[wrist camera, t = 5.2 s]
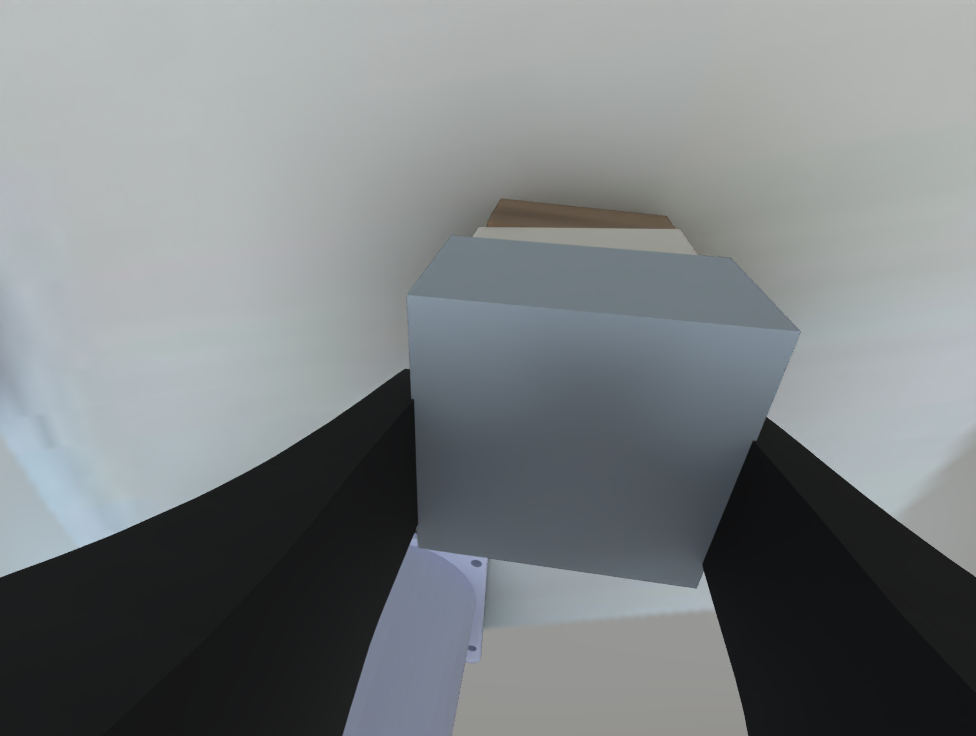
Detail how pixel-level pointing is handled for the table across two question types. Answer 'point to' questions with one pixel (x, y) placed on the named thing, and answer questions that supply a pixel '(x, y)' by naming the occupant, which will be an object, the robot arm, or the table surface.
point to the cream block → (596, 237)
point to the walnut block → (570, 217)
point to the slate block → (586, 402)
